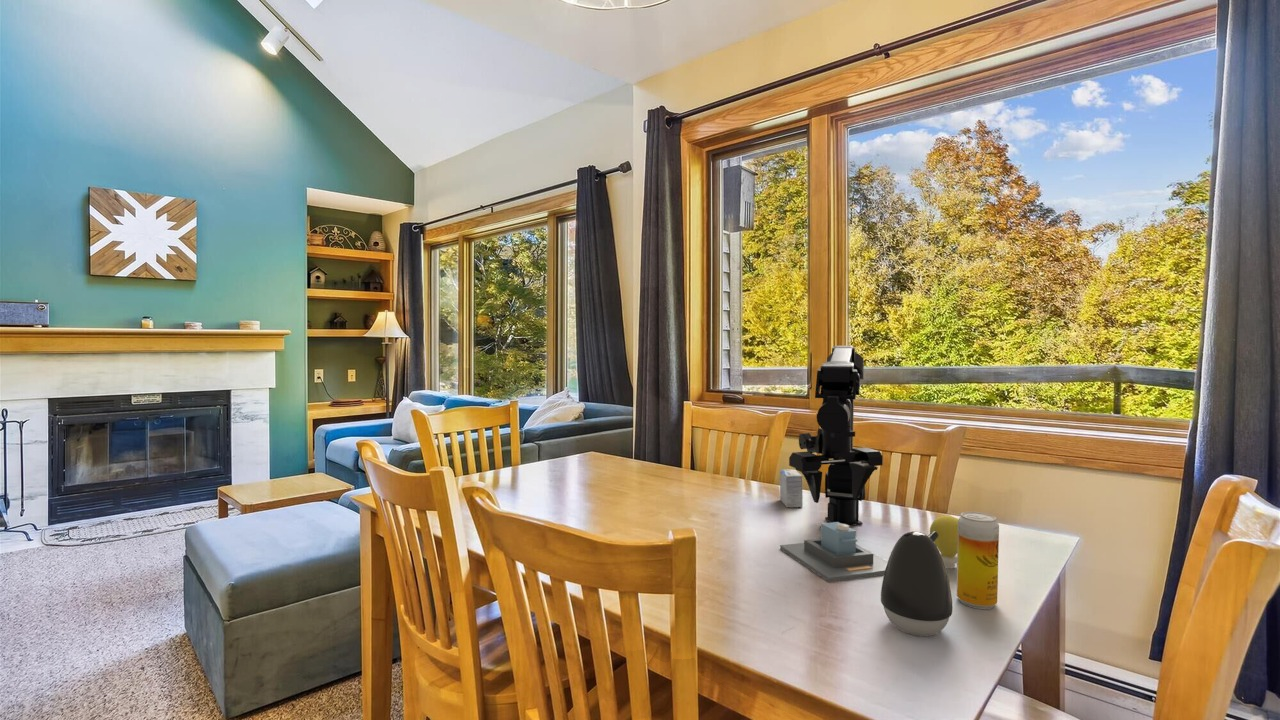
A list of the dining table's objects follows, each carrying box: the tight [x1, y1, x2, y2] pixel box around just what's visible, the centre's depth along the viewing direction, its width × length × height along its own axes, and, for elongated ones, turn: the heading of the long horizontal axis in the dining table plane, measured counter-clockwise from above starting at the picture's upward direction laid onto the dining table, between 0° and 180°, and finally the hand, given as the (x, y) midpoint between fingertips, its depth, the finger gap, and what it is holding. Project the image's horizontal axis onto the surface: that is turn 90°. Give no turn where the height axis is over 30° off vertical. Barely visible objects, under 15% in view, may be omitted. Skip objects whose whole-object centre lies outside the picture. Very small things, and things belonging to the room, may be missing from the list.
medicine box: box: [779, 469, 804, 508], centre depth 163 cm, size 8×4×9 cm, turn 179°
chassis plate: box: [779, 537, 888, 583], centre depth 122 cm, size 16×18×3 cm
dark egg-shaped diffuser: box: [880, 530, 954, 637], centre depth 94 cm, size 10×10×15 cm
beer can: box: [956, 511, 1000, 610], centre depth 102 cm, size 6×6×15 cm
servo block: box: [819, 522, 858, 555], centre depth 122 cm, size 4×8×7 cm, turn 16°
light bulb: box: [929, 515, 959, 569], centre depth 119 cm, size 7×7×10 cm
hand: (835, 500), depth 123 cm, fingers open, 9 cm apart
